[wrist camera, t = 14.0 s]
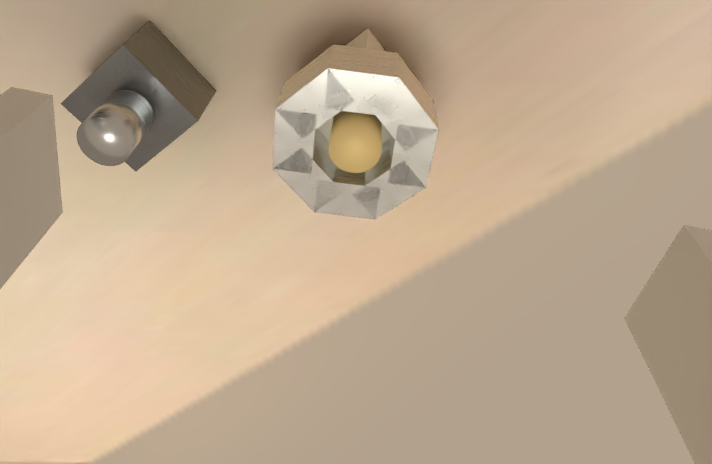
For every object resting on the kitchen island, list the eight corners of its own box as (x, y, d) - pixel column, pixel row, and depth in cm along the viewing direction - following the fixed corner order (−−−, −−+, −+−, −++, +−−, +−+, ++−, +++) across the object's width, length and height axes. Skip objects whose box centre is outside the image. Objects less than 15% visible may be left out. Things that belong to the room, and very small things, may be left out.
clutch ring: (253, 107, 37) (240, 135, 33) (369, 15, 33) (368, 37, 30) (344, 206, 41) (341, 240, 37) (457, 133, 37) (464, 163, 34)
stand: (92, 75, 41) (27, 133, 34) (149, 20, 39) (94, 69, 31) (158, 138, 44) (112, 205, 36) (216, 91, 41) (179, 151, 34)
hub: (298, 81, 41) (280, 140, 33) (367, 27, 39) (364, 77, 31) (352, 145, 43) (346, 212, 36) (420, 97, 41) (429, 159, 34)
